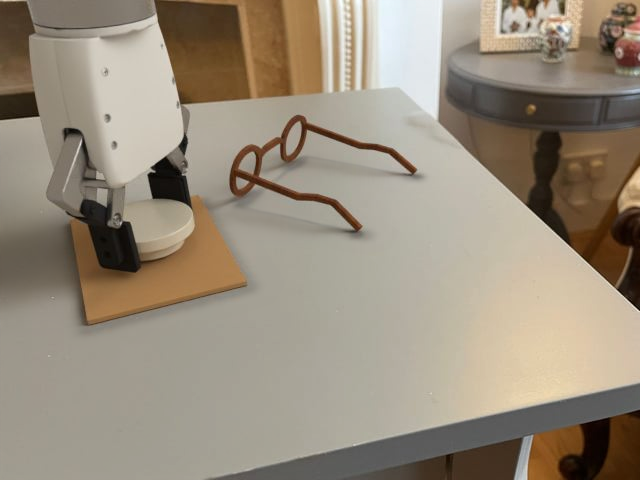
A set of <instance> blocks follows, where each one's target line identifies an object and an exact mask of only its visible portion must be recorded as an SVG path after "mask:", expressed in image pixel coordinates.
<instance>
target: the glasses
mask: <svg viewBox="0 0 640 480" xmlns="http://www.w3.org/2000/svg"><path fill="white" fill-rule="evenodd" d="M299 122H300V126H301V130H300V137H299V141H298V144H297V146H296V148H295V149H294V150H293V152H292V153H290V154H289V155H288V154H287V140H288V137H289V134H290V132H291V130H292V129H293V127H294V126H295V125H296V124H297V123H299ZM308 131H309V132H312V133H315V134H318V135H320V136H322V137H325V138H328V139H331V140H333V141H336V142H339V143H341V144H344V145H347V146H350V147H353V148H355V149H357V150H366V151H367V150H368V151H376V152H379V153H384V154H387V155H389V156H390V157H392V158H393V159H394V160H395V161H396V162H397V163H399V164H400V165H401V166H402V167H403V168H404V169H406V170H407V171H408V172H409V173H410V174H411V175H415V173H417V172H418V168H417V167H416V166H414V165H413V164H412V163H411V162H410V161H408V160H407V159H406V158H405V157H404V156H403V155H402V154H400V153H399V152H398V151H397V150H396V149H395V148H392V147H389V146H386V145H382V144H379V143H370V142H362V141H359V140H356V139H354V138H350V137H348V136H345V135H343V134H340V133H338V132H334V131H333V130H332V131H331V130H329V129H326V128H323V127H321V126H319V125H315V124H312V123H310V122H308V121H307V118H306V117H305V116H304V115H302V114H295V115H294V116H292V117H291V118H290V119H289V120H288V122H287V123H286V125H285V127H284V128H283V130H282V132H281V135H280V136H276V137H274V138H273V139H271V140H270V141H268V142H266V143H265V144H264V145H262V147H260V146H259V145H256V144H253V143H251V144H247V145H245V146H244V147H243V148H242V149H240V151H238V153H237V154H236V155H235V157H234V159H233V161H232V164H231V167H230V171H229V178H228V182H229V183H228V184H229V190H230V193H232V195H234V196H236V197H244V196H246V195H248V194H249V193H250V192H251V191H252V190H253V188H254V187H255V186H259V187H262V188H264V189H266V190H269V191H271V192H274V193H277V194H279V195H281V196H284V197H287V198H289V199H292V200H294V201H297V202H298V201H300V202H302V201H303V202H316V203H319V204H324V205H327V206H331V207H332V208H333V209H334V211H336V213H338V215H339V216H341V217H342V218H343V219H344V221H346V223H348V224H349V225H350V226H351V227H352V229H354V230H355V231H356V232H359V231H360V230H361V229H362V228H364V226H363V225H362V224H361V223H360V222H359V221H358V220H357V219H356V218H355V217H354V215H352V214H351V212H350V211H348V210H347V208H346V207H345V206H343V205H342V204H341V203H340V201H338V200H337V199H336V198H333V197H329V196H326V195H322V194H319V193H309V192H298V191H295V190H293V189H290V188H288V187H285V186H283V185H280V184H278V183H275V182H273V181H270V180H268V179H266V178H263V177H260V174H261V171H262V165H263V157H264V156H265V155H266V154H267V153H268V152H269V151H271V150H272V149H274V148H276V147H277V146H278V145H279V154H280V159H281V160H282V161H283V162H286V163H291V162H293V161H294V160H296V158H297V157H298V156H299V155H300V154H301V152H302V150H303V148H304V146H305V142H306V139H307V132H308ZM250 153H254V155H255V165H254V170H253V173H250V172H248V171H246V170H243V169H240V165H241V163H242V161H243V160H244V158H245V157H246V156H248V155H249V154H250ZM237 178H239V179H241V180H244V181H247V182H248V183H247V184H246V185H244V186H243V187H242V188H238V184H237Z"/></svg>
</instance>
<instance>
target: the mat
mask: <svg viewBox="0 0 640 480" xmlns="http://www.w3.org/2000/svg"><path fill="white" fill-rule="evenodd" d="M190 199H191V204H192V209H193V214H194V221H195V227H194V230H193V231H192V233H191V234H190V235H189V236H188V237H187V238H186V239H185V241H184V243H183V245H182V246H181V247H180V248H179V249H178V250H177V251H175V252H174V253H172V254H170V255H168V256H165V257H162V258H158V259H154V260H146V261H141V268H140V269H139V270H138V271H137V272H136V273H132V272H125V271H118V270H111V269H105V268H102V267H101V266H100V265H99V262H98V259H97V255H96V252H95V248H94V245H93V242H92V238H91V235H90V232H89V228H88V225H86V224H81V223H80V222H79V220H78V219H76V218H72V219H69V224H70V228H71V235H72V242H73V247H74V252H75V253H74V254H75V259H76V266H77V272H78V277H79V282H80V289H81V294H82V300H83V303H84V304H83V306H84V311H85V316H86V323H87V324H88V326H89V325H90V326H91V325H94V324H98V323H102V322H106V321H109V320H113V319H119V318H122V317H126V316H130V315H133V314H138V313H142V312H147V311H151V310H154V309H157V308H162V307H165V306H170V305H174V304H178V303H182V302H186V301H190V300H193V299H197V298H201V297H206V296H209V295H214V294H217V293H221V292H226V291H230V290H234V289H238V288H241V287H246V286H247V285H248V281H247V279H246V277H245V276H244V274H243V271H242V270H241V268H240V266H239V265H238V263H237V261H236V260H235V257H234V256H233V254H232V252H231V250H230V249H229V246H228V245H227V243H226V242H225V240H224V238H223V236H222V235H221V233H220V231H219V229H218V227H217V225H216V224H215V222H214V220H213V218H212V216H211V215H210V213H209V211H208V209H207V208H206V206H205V203H204V202H203V201H202V198H201V197H200V195H199V194H195V195H190Z"/></svg>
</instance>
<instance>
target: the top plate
mask: <svg viewBox="0 0 640 480" xmlns="http://www.w3.org/2000/svg"><path fill="white" fill-rule="evenodd" d="M123 221H127V222H130V223H131V226H132V230H133V233H134V237H135V241H136V245H137V249H138V253H139V257H140V261H146V260H154V259H158V258H162V257H165V256H168V255H170V254H172V253H174V252H175V251H177V250H178V249H179V248H180V247H181V246H182V245H183V243H184V241H185V239H186V238H187V237H188V236H189V235H190V234H191V233H192V231H193V230H194V227H195V221H194V216H193V211H192V210H191V208H190V207H189V206H188V205H186V204H184V203H182V202H179V201H176V200H170V199H152V198H147V199H140V200H135V201H131V202H127V203H124V213H123Z"/></svg>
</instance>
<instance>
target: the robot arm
mask: <svg viewBox="0 0 640 480" xmlns="http://www.w3.org/2000/svg"><path fill="white" fill-rule="evenodd" d="M25 1H26V4H27V7H28V11H29V15H30V17H31V22H32V25H33V29H34V33H33V34H29V35H28V47H29V48H28V49H29V50H28V51H29V61H30V70H31V79H32V85H33V90H34V96H35V101H36V106H37V111H38V115H39V120H40V124H41V129H42V132H43V136H44V140H45V144H46V147H47V152H48V156H49V159H50V162H51V166H52V168H53V172H52V174H51V177H50V180H49V183H48V185H47V188H46V191H45V196H46V199H47V201H49V202H50V203H52V204H54V205H55V206H56V207H58V208H59V209H61V210H62V211H65V213H66V215H67V216H70V217H71V218H73V219H78V220H79V222H80V223H81V224H86V225H88V228H89V232H90V235H91V238H92V242H93V245H94V248H95V252H96V255H97V259H98V262H99V265H100V266H101V267H102V268H105V269H111V270H118V271H125V272H132V273H136V272H137V271H138V270H139V269H140V268H141V261H140V257H139V253H138V249H137V245H136V241H135V237H134V233H133V230H132V226H131V223H130V222H127V221H123V213H124V204H125V197H126V185H128V184H130V183H131V182H133V181H134V180H136V179H137V178H138V177H140V176H141V175H142V174H143V173H145V172H146V171H148V170H149V169H150V170H152V171H149V172H148V173H147V174H146V175H147V181H148V185H149V190H150V193H151V199H170V200H176V201H179V202H182V203H184V204H186V205H188V206H189V207H190V208H191V210H192V211H193V209H192V204H191V199H190V196H191V194H190V189H189V183H188V178H187V175H186V174H187V172H188V170H189V162H188V160H187V158H186V152H187V148H188V145H189V138H188V136H187V135H188V130H189V125H190V120H191V119H190V118H191V112H190V110H189V108H187V107H186V106H185V105H183V104H182V103H181V102H180V97H179V92H178V88H177V83H176V79H175V75H174V71H173V67H172V63H171V60H170V55H169V53H168V52H169V51H168V49H167V45H166V42H165V39H164V36H163V32H162V30H161V28H160V24H159V22H158V21H159V18H158V13H157V8H156V3H155V0H25ZM97 172H98V173H99V174H102V175H103V178H104V179H101V178H97ZM98 189H103V190H107V194H106V195H107V196H106V206H105V205H103V204H102V203H99V202H98V201H97V200H98V199H97V198H98ZM193 216H194V214H193Z"/></svg>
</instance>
